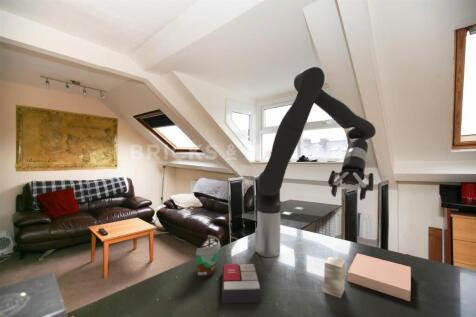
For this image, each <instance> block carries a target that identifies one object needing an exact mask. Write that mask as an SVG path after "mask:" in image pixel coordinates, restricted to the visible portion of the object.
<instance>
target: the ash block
mask: <svg viewBox="0 0 476 317" xmlns="http://www.w3.org/2000/svg"><path fill="white" fill-rule="evenodd" d="M323 273H324V274H323V275H324V276H323V278H324V280H323V293H326V294H328V295H331V296H333V297H336V298H339V299H341V298H342V296H343V294H344V292H345V284H346V283H345V281H346V280H345V279H346V278H345V277H346V260H343V259H339V258H336V257H332V256H328V257H327V259H326V260H325V261H324V270H323Z"/></svg>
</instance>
